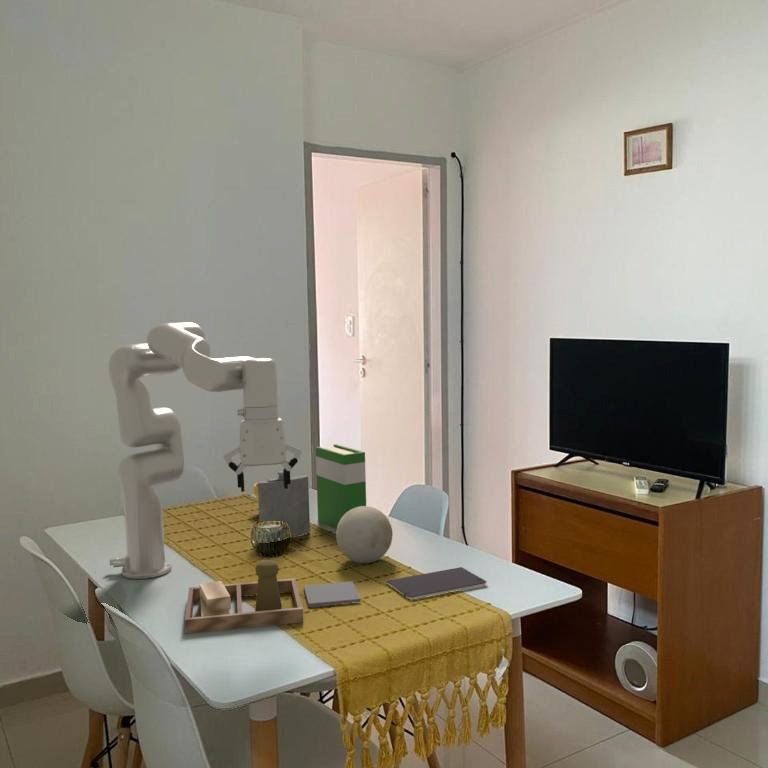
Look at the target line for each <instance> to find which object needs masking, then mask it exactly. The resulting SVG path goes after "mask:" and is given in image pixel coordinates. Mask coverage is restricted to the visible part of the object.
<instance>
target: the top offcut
mask: <svg viewBox="0 0 768 768" xmlns="http://www.w3.org/2000/svg"><path fill="white" fill-rule="evenodd" d="M224 585H225V584H224V583H223V581H222V580H217V581H216V580H215V581H210V582H203V583H199V585H198V587H200V598H201V600H202V602H203V604H204V606H205V608H206V610H207V612H208V613H211V612H217V611H224V610H229V611H230V610H231V609H232V608H231V607H232V605H231V603H232V602H231V601H232V600H231V598H230V595H229V593H228V591H227V590H226V588H225V586H224Z"/></svg>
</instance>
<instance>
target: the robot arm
mask: <svg viewBox="0 0 768 768" xmlns="http://www.w3.org/2000/svg"><path fill="white" fill-rule="evenodd" d="M181 369H182V372H183V374H184V376H185V378H186V379H187V381H188V382H189V383H191V384H192V385H194V386H196V387H198V388H200V389H202V390H204V391H207V392H211V393H223V392H231V391H238V390H239V391H241V390H242V397H243V401H242V402H243V407H242V408H241V409H236V411H237V416H238V417H239V416H240V417H243V420H241V421H240V425H239V426H240V427H239V445H237V446H236V447H234V448H232V449H231V450H229V451H228V452H225V453H224V454H223V459H224V461H225V462H226V464H227V466H228V467H229V468H230V469H231V470H232V471H233V472H235V474H236V475H237V477H236V479H237V488H238V489H239V488H240V491H241V493H244V492H245V478H244V477H245V475H244V474H245V473H244V472H243V471H244V470H245V468H247V467H256V466H257V467H258V466H260V467H261V466H272V465H273V466H274V465H281V466H282V467H283V470H282V471H283V480H284V488H285V489H288V484H290V477H291V470H292V469H293V468H294V466H295V465H297V463H298V462H299V459H300V457H301V455H302V454H303V453H302V452H303V451H302V450H301V449H300V448H298V447H295V446H294V445H291V444H289V443H286V436H285V429H284V424H283V423H284V422H283V419H282V418H280V417H279V407H278V406H279V405H278V404H279V403H278V384H277V383H278V380H277V364H276V361H275V360H274V359H272V358H269V357H268V358H267V357H260V358H259V357H258V358H257V357H252V356H245V355H244V356H242V355H241V356H230V357H218V358H212V357H211V346H210V344H209V341H207V338H206V334H205V332H204V330H203V329H202V327H200V325H198V324H196V323H194V322H191V321H190V322H189V321H185V322H181V321H180V322H166V323H165V322H164V323H160V324H157V325H155V326H153V327H152V328H151V329H150V330H149V331H148V334H147V337H146V342H143V343H131V344H126V345H122V346H120V347H117V348H116V349H115V350H114V351H113V352H112V353H111V355H110V357H109V361H108V375H109V379H110V382H111V384H112V387H113V391H114V395H115V401H116V402H115V403H116V411H117V421H118V427H119V429H118V430H119V435H120V438H121V443H123V445H124V446H125V447H128V448H131V449H133V448H141V447H148V446H149V447H150V446H153V445H155V446H156V449H152V450H145V451H139V452H135V453H131V454H129V455H127V456H125V457H124V458H123V459H122V460H120V462H119V463H118V467H117V475H118V481H119V483H120V489H121V492H122V499H123V500H122V501H123V511H124V512H123V513H124V514H123V515H124V523H125V524H124V528H125V529H124V530H125V541H126V542H125V544H126V555H124V556H123V555H122V557H112V558H109V566H110V567H113V568H120V567H121V576H122V577H124V578H128V579H132V580H133V579H134V580H139V579H141V580H143V579H144V580H145V579H152V578H157V577H161V576H163V575H165V574H168V573H169V572H170V571H172V568H173V567H172V563H171V562H169V561H168V560H166V555H165V553H166V551H165V538H164V537H165V536H164V533H165V531H164V515H163V505H162V500H161V499H160V497H159V495H158V494H157V493H156V492H155V489H154V488H156V487H158V486H163V485H167V484H170V483H171V484H172V483H174V482H177V481H179V480H180V479H181V478H183V477H182V476H183V475H184V472H185V456H184V446H183V445H184V444H183V435H182V428H181V422H180V420H179V418H178V416H177V413H175V412H174V410H172V409H171V408H170V407H169V408H168V407H165V406H162V407H154V408H153V406H152V401H151V398H152V397H151V393H150V390H149V388H148V387H147V385H146V384H145V382H144V381H142V379H141V378H142V377H144V378H145V377H152V376H153V377H154V376H164V375H170V374H174V373H177V372H178V371H179V370H181ZM287 451H288V452H290V453H293V456H292V458H291V459H290V460H289V461H287ZM238 454H239V460H240V462H239V463H238V465H237V464H236V463H235V462H234V461H233V459H232V458H233V457H234V456H236V455H238Z"/></svg>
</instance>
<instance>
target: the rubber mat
mask: <svg viewBox="0 0 768 768" xmlns="http://www.w3.org/2000/svg"><path fill="white" fill-rule="evenodd" d="M303 592H304V595H305V600H306V599H307V600H306V603H307V606H308V608H309V607H312V608H320V607H319V606H323V607H329V606H328V605H334V606H336V605H335V604H342V603H352V602H361V603H362V601H361V596H360V595H359V593H358V590H357V588H356V586H355V584H354V581H342V582H331V583H320V584H319V583H318V584H317V583H316V584H307V585H303Z"/></svg>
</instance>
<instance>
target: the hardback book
mask: <svg viewBox="0 0 768 768" xmlns="http://www.w3.org/2000/svg"><path fill="white" fill-rule="evenodd" d="M315 461H316V462H315V465H316V467H315V470H316V472H315V473H316V496H317V497H316V498H317V500H316V503H317V520H318V521H317V522H319V523H321V524H323V525H326V526H328V527H330V528H332V529H334V530H336V531H337V526H338V523H339V521H340V520H341V518H342V517H343V516H344V514H346V513H347V512H348V511H349V510H351V509H353V508H356V507H360V506H367V491H366V490H367V483H366V482H367V481H366V479H367V478H366V476H367V475H366V452H365V451H362V450H359V449H354V448H351V447H347V446H345V445H341V444H333V446H332V447H321V446H315Z"/></svg>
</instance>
